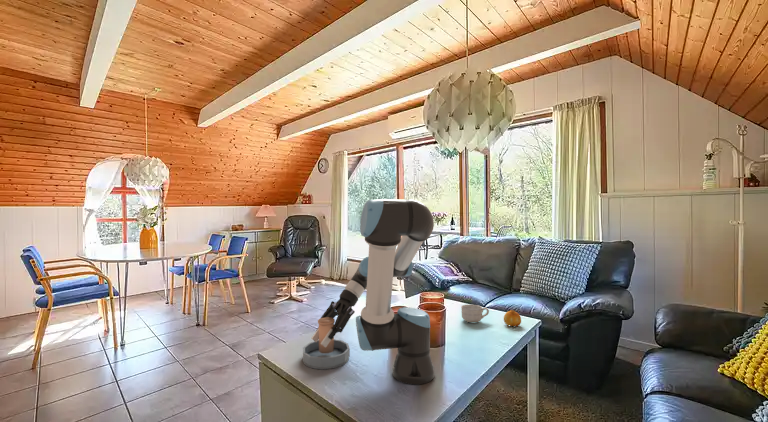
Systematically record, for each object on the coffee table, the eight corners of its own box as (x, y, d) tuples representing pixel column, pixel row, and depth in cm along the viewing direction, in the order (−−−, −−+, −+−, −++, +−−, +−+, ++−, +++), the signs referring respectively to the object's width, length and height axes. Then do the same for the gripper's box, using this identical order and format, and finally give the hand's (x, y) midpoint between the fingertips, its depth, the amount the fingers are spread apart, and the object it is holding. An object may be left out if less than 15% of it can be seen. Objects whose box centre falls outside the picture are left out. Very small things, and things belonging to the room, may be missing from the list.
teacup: (460, 323, 178) (460, 308, 178) (462, 317, 188) (462, 302, 188) (488, 326, 174) (488, 311, 174) (488, 319, 184) (489, 305, 184)
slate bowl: (358, 359, 137) (358, 348, 137) (319, 374, 125) (319, 362, 125) (331, 345, 150) (331, 335, 150) (294, 358, 138) (294, 347, 138)
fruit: (515, 325, 169) (518, 309, 172) (499, 323, 174) (502, 307, 178) (522, 330, 174) (524, 315, 177) (506, 328, 179) (508, 312, 183)
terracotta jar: (338, 350, 138) (338, 320, 137) (324, 355, 133) (323, 324, 133) (328, 345, 142) (328, 316, 142) (314, 349, 138) (314, 320, 138)
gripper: (371, 303, 141) (338, 355, 130) (343, 294, 155) (311, 340, 144) (361, 293, 137) (326, 345, 126) (333, 284, 151) (299, 331, 140)
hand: (318, 342), depth 135 cm, fingers closed on terracotta jar, 6 cm apart
